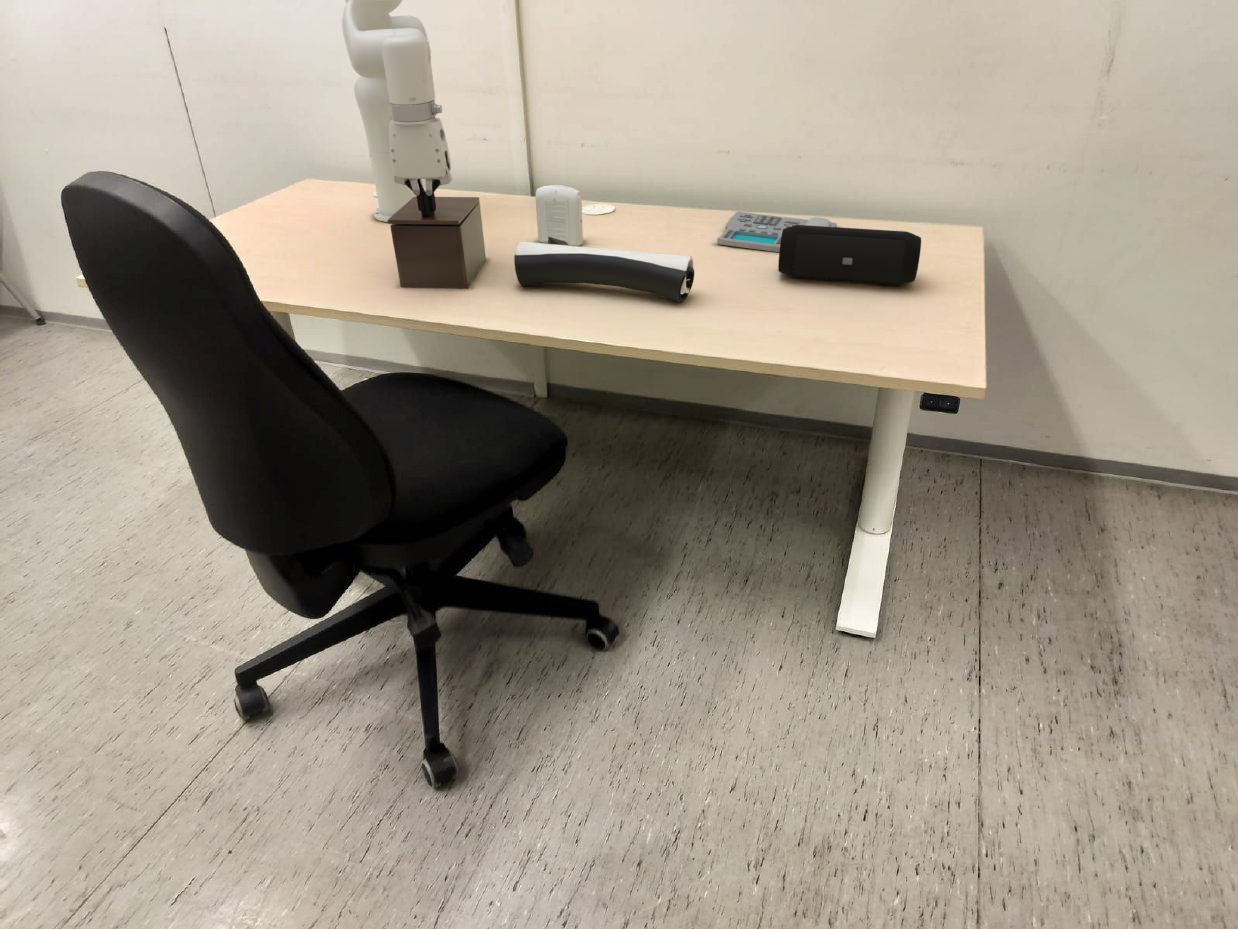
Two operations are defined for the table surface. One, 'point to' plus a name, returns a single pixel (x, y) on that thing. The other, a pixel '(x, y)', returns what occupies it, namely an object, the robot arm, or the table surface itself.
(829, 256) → the portable speaker
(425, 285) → the chest
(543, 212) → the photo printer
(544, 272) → the curved black white bar
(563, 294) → the table surface
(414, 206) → the lid
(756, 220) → the office telephone
